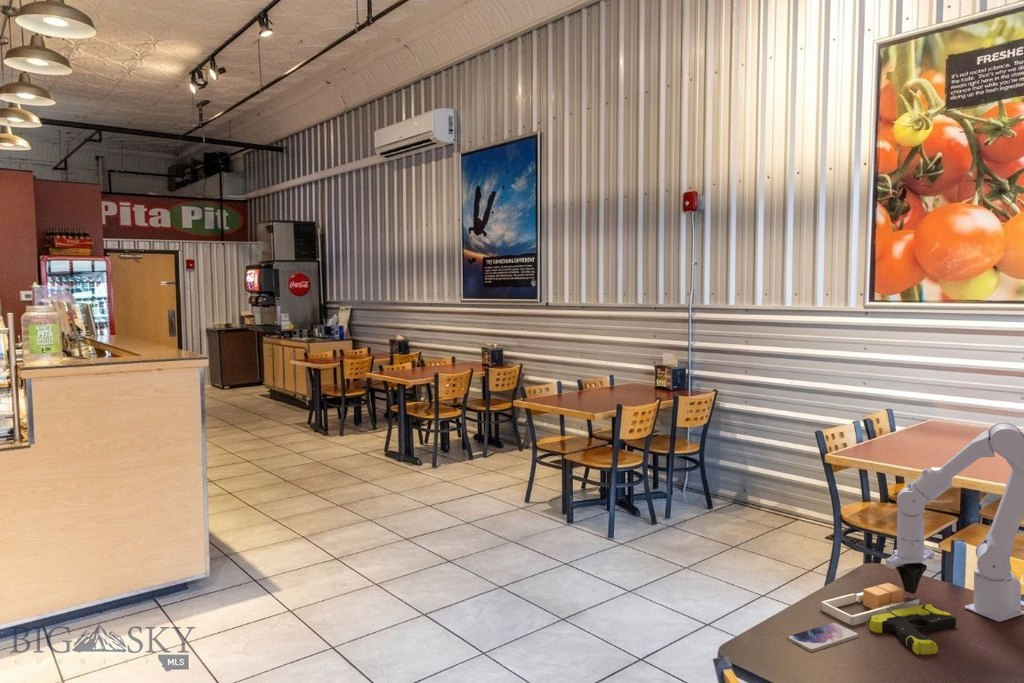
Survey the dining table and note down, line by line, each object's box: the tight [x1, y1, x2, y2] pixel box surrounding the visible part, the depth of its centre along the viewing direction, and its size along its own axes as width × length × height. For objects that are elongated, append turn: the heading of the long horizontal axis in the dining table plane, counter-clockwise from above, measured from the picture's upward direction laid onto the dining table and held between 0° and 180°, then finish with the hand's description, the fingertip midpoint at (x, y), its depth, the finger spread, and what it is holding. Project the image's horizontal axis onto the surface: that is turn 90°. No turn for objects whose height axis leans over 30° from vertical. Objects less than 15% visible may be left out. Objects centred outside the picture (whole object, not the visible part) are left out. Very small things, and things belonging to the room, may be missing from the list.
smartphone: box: [786, 622, 860, 653], centre depth 149 cm, size 7×1×15 cm
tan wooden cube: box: [862, 585, 890, 610], centre depth 163 cm, size 4×4×4 cm
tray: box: [820, 593, 886, 626], centre depth 160 cm, size 11×9×2 cm
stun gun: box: [865, 603, 957, 655], centre depth 149 cm, size 3×19×15 cm
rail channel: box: [855, 591, 920, 613], centre depth 164 cm, size 11×8×2 cm
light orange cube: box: [876, 582, 904, 604], centre depth 164 cm, size 4×4×4 cm
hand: (910, 591), depth 167 cm, fingers closed
